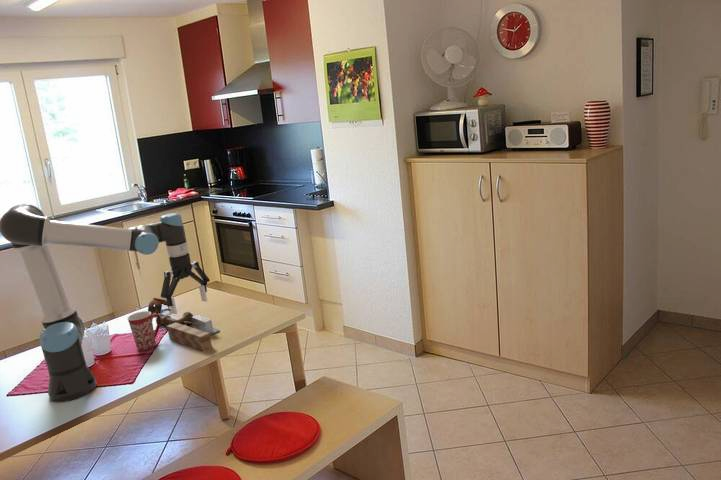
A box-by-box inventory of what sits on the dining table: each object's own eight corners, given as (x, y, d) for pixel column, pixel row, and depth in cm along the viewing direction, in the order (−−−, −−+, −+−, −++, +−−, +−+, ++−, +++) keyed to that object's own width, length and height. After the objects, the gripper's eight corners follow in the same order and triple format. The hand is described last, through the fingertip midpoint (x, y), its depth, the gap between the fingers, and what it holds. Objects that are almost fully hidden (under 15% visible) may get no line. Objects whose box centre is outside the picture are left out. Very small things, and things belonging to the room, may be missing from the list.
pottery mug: (145, 313, 276) (150, 296, 278) (166, 318, 280) (170, 301, 281) (146, 315, 265) (151, 296, 267) (168, 319, 269) (173, 301, 270)
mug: (141, 353, 230) (133, 321, 226) (130, 348, 236) (123, 317, 233) (170, 341, 238) (163, 310, 235) (159, 336, 245) (152, 306, 241)
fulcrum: (202, 338, 237) (199, 324, 236) (188, 332, 246) (185, 318, 244) (219, 331, 242) (217, 317, 241) (205, 325, 251) (202, 312, 249)
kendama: (169, 321, 263) (202, 325, 252) (152, 331, 255) (185, 334, 244) (166, 309, 261) (198, 312, 251) (149, 318, 253) (182, 321, 243)
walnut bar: (212, 347, 228) (209, 333, 227) (203, 351, 225) (200, 337, 224) (178, 335, 244) (175, 322, 243) (169, 339, 241) (166, 325, 240)
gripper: (154, 265, 211) (166, 320, 216) (212, 245, 229) (222, 297, 234) (143, 263, 216) (155, 317, 221) (200, 244, 234) (210, 294, 239)
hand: (189, 307), depth 228 cm, fingers open, 13 cm apart
